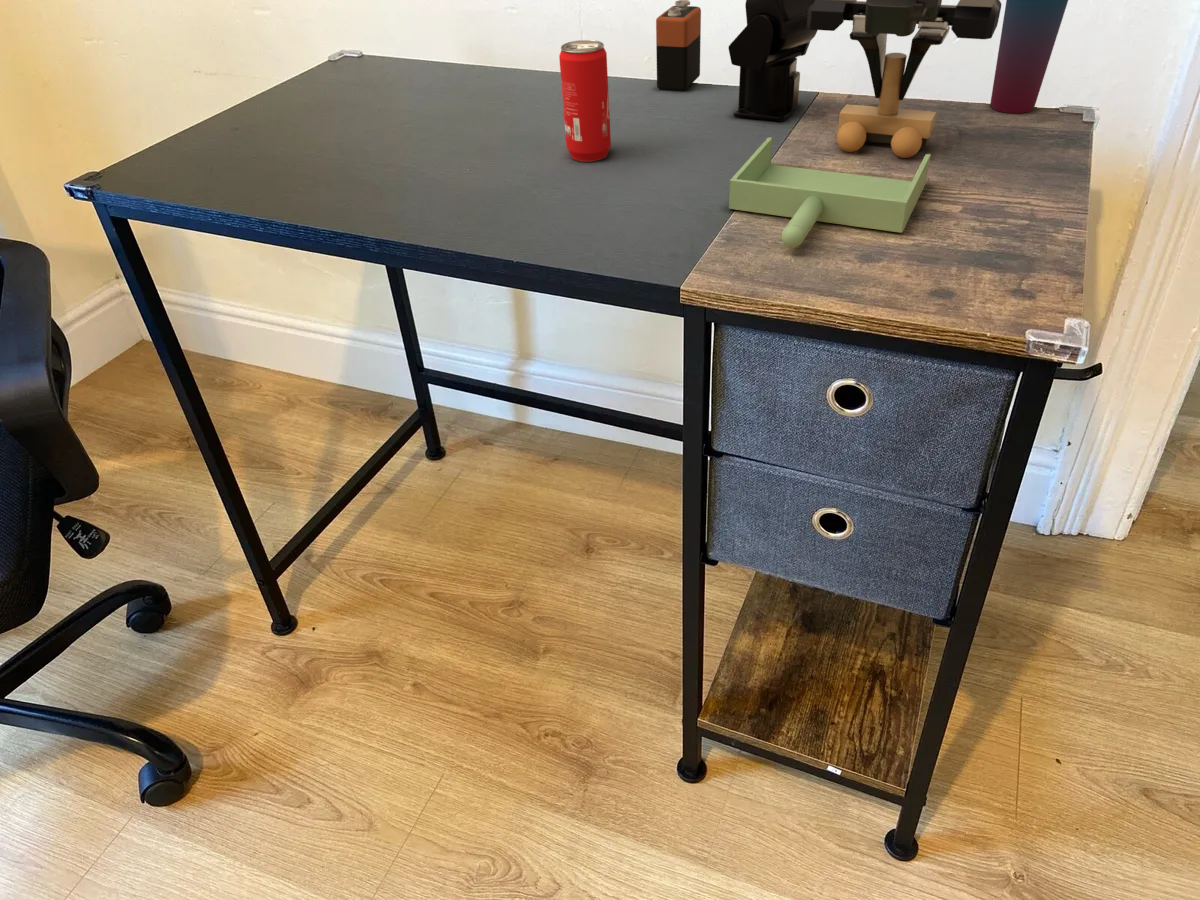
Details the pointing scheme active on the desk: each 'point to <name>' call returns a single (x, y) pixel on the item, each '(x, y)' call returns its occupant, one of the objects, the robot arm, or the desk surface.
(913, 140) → the cork ball
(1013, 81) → the cup
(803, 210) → the dustpan
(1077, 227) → the desk surface
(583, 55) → the beverage can
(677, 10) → the battery
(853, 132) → the cork ball
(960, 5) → the robot arm
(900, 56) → the brush
